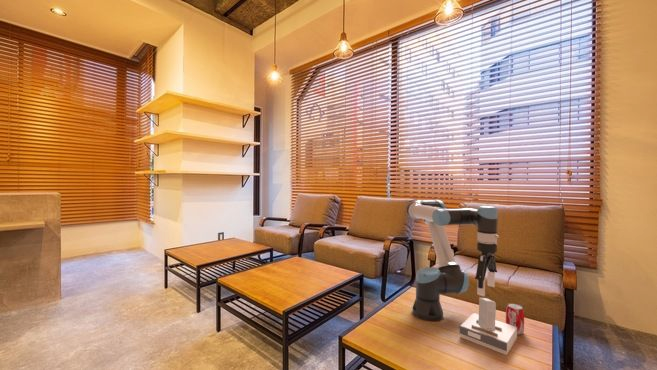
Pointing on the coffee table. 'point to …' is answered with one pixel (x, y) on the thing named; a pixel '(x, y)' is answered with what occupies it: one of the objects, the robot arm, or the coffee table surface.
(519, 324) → the soda can
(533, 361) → the coffee table surface
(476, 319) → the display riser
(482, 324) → the skincare box
